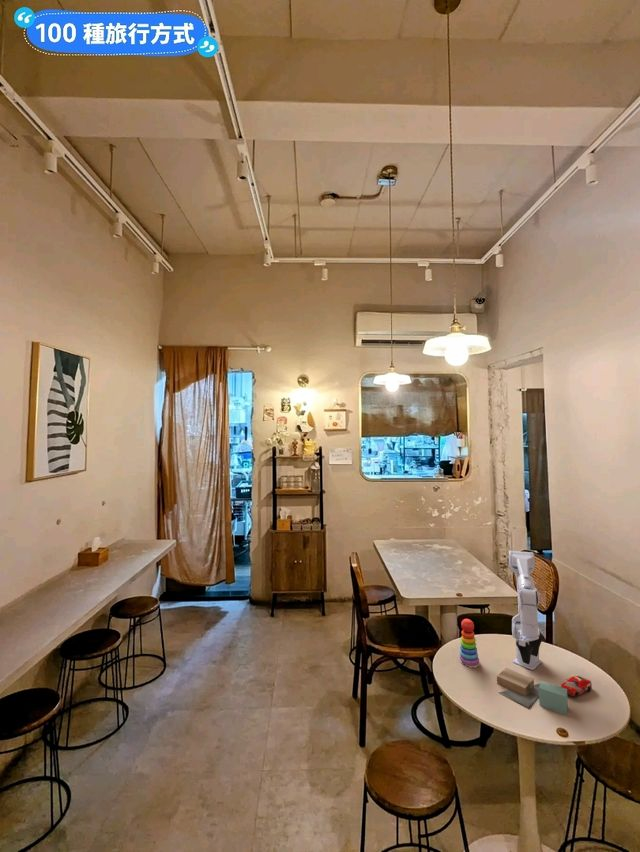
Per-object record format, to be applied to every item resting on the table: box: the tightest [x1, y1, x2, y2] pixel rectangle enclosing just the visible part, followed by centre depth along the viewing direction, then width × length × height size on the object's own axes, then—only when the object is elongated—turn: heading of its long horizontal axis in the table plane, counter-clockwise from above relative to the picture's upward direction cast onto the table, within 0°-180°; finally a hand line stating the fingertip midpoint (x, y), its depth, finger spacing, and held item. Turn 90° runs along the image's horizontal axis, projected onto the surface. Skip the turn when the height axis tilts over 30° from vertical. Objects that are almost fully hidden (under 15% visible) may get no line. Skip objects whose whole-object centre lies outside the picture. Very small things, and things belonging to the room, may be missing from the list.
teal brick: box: [538, 680, 569, 715], centre depth 137 cm, size 5×8×6 cm, turn 54°
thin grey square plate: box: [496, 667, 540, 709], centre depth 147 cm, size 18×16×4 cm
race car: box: [560, 675, 593, 698], centre depth 144 cm, size 13×5×4 cm, turn 116°
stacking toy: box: [459, 618, 480, 668], centre depth 162 cm, size 8×8×19 cm
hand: (530, 659), depth 147 cm, fingers open, 7 cm apart
